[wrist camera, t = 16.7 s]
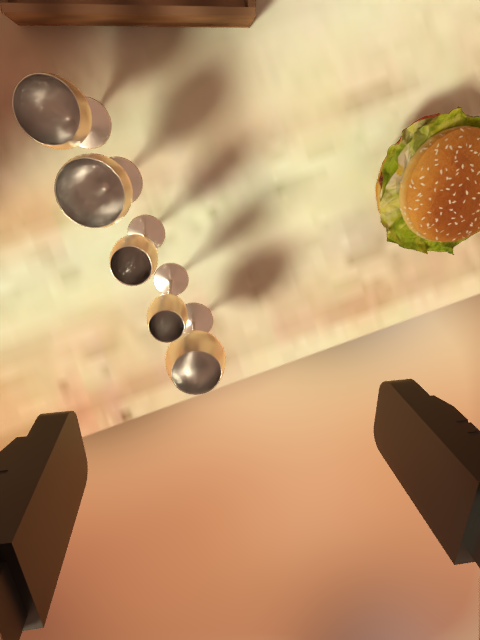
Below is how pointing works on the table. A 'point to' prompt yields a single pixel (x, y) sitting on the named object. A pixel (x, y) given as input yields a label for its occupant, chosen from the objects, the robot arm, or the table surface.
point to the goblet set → (110, 207)
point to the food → (432, 183)
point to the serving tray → (131, 12)
